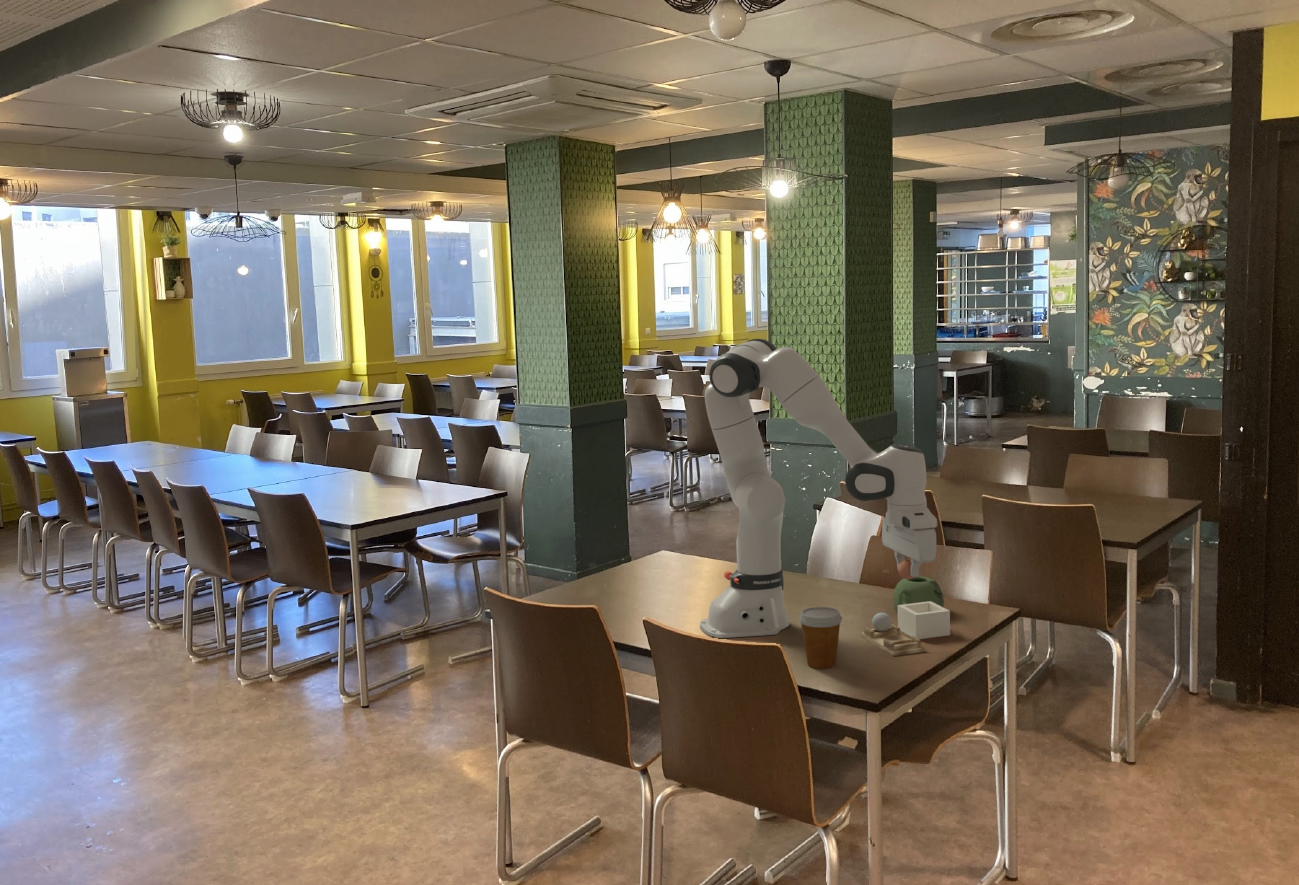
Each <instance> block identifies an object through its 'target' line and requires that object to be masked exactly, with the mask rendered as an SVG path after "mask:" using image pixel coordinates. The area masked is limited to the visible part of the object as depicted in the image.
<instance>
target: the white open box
mask: <svg viewBox="0 0 1299 885" xmlns="http://www.w3.org/2000/svg"><path fill="white" fill-rule="evenodd" d="M950 616H951V611H950V610H949V609H947V608H946V607H944V606H943V607H941V606H939V605H937V604H935V603H933V602H931V601H928V602H920V603H912V604H904V605H898V611H897V627H899V628H900V632H903V633H904V634H906V635H907V636H909V637H910V636H915V637H916V638H918V639H920V640H924V639H932V638H937V637H946V636H950V635H951V617H950Z"/></svg>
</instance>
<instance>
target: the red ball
mask: <svg viewBox="0 0 1299 885" xmlns="http://www.w3.org/2000/svg"><path fill="white" fill-rule="evenodd" d="M911 564H912V562H911V561H910V559H905V560H904V561H902V562H901V563H900V565H899V567H898V569H897V570H898V574H899V576H900V577H901V578H902V579H913V578H914V577H912V576H910V575H909V568H911Z"/></svg>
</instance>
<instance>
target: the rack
mask: <svg viewBox="0 0 1299 885" xmlns="http://www.w3.org/2000/svg"><path fill="white" fill-rule="evenodd" d="M860 635H861V637H862V638H864V639H866V640H867V641H868V642H870V643H871V644H873V645H874V646H876V647H878V648H879V649H881V650H883V651H884V652H885V653H887V654H889V655H890V656H892V657H895V656H902V655H909V654H910V655H911V654H917V653H925V652H926V651H925V647H923V646H922V639H918V638H916V637H915V636H909V638H908V637H906V636H905V635H903V634H901V631H900V628H899V627H898V625H896V624H894V623H892V624H891V627H890V628H889V629H888V630H887V631H884V632H881V631H878V630H876V629H875V628H869V627H864V629H863V632H861V634H860Z"/></svg>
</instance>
